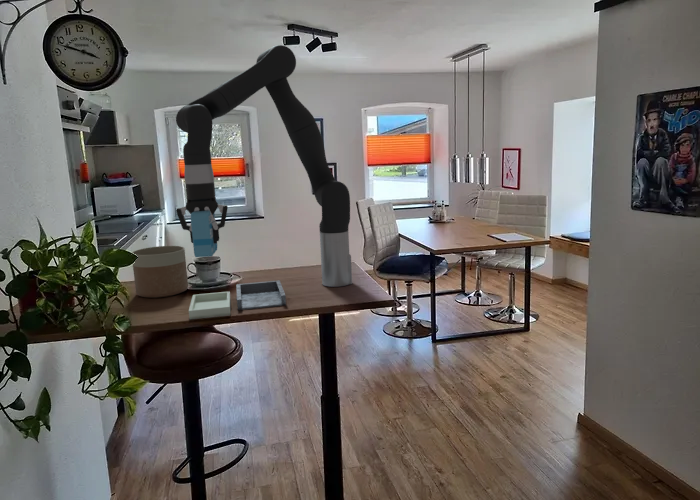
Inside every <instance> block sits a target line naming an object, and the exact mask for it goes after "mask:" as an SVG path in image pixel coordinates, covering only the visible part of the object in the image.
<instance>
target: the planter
mask: <svg viewBox="0 0 700 500" xmlns="http://www.w3.org/2000/svg"><path fill="white" fill-rule="evenodd" d="M131 253H134V254H136V255H137V256H138V259H137V260H136V261H135V263H134V264H133V263H132V270H133V271H132V272H133V277H134V278H133V279H134V288H135V294H136V295H137V296H139V297H142V298H146V299H147V298H150V299H159V298H166V297H167V298H168V297H172V296H176V295H179V294H181V293H184V292H185V291H187V289H188V288H189V280H188V271H187V269H188V268H187V260H186V249H185V247H184V246H181V245H180V246H179V245H159V246H150V247H144V248H143V247H142V248H140V249H136V250H134V251H132V252H131Z"/></svg>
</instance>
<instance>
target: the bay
mask: <svg viewBox="0 0 700 500" xmlns="http://www.w3.org/2000/svg"><path fill="white" fill-rule="evenodd" d="M235 287H236V288H235V289H236V306H237V311H243V310H255V309H264V308H275V307H284V306H287V298H286V293H285V290H284V288H283V286H282V283H281V280H279V279H278V280H268V281H256V282H246V283H245V282H244V283H237V284H236V286H235Z"/></svg>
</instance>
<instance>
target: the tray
mask: <svg viewBox="0 0 700 500" xmlns="http://www.w3.org/2000/svg"><path fill="white" fill-rule="evenodd" d="M227 316H231V292H230V290H229V291H221V292H210V293H199V294H193V295H192V297H191V301H190V303H189V308H188V317H189V318H188V320H197V319H208V318H218V317H227Z"/></svg>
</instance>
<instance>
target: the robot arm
mask: <svg viewBox="0 0 700 500" xmlns="http://www.w3.org/2000/svg"><path fill="white" fill-rule="evenodd" d="M296 67H297V59H296V55H295V53H294V52H293V50H291V48H289V46H286V45H282V44H278V45H274V46H271V47H270V48H268V49H265V50H264V51H263V52H262V53H260V54H259V56H258V57H257V58H256V63H255V64H254V65H252V66H251V67H249V68H248V69H246V70H244V71H243V72H241V73H239V74H237V75H236V76H233V77H231V78H230V79H227V80H226V81H224V82H222V83H221V84H219V85H218V86H217V87H215V88H213V89H212V90H210V91H209V92H208V93H206V94H205V95H204V96H202V97H199V98H197V99H195V100H193V101H191V102H190V103H187V104H185V105H183V106H182V107H181V108H180V109H179V110H178V111H177V113H176V116H175V122H176V125H177V128H179V129H180V130H181V131H182V132H183V133H184V132H185V133H187V141H186V142H185V143H184V144H183V148H182V153H183V162H184V163H183V164H184V183H185V193H186V194H185V195H186V205H185V206H182V207H178V208H176V210H175V212H176V215H177V217H178V220H179V222H180V225H181V229H182V230H183V231H188V232H189V234H190V242H191V243H192V244H193V237H192V227H191V224H190V225H189V224H188V223H187V221H186V217H185V214H186V211H187V212H188V214H190V215H191V213H192V212H198V211H210V214H211V223H212V226H213V228H214V229H213V234H214V244H215V243H217V244H218V242H220V231H219V230H220V229H221V228H224V227H225V225H226V220H227V214H228V205H227V204H218V202H217V200H216V197H217V196H216V187H215V176H214V170H213V164H212V154H211V145H212V144H211V143H212V138H213V136H212V135H213V127H214V126H213V123H214V122H213V120H215V119H217V118H220V117H223V116H226V115H227V114H228V113H230V112H231V111H232V110H234V109H235V108H237V107H238V106H240V105H242V104H243V103H244V102H245V101H246V100H248V99H249V98H250V97H252V96H253V95H254V94H256V93H257V92H259V91H260V90H261V89H263V88H265V89H266V90H267V92H268V94H269V96H270V97H271V100H272V102H273V103H274V105H275V107H276V108H275V109H276V111H277V112H278V114H279V116H280V118H281V121H282V122H283V125H284V127H285V130H286V132H287V134H288V137H289V139H290V141H291V143H292V146H293V148H294V149H295V152H296V154H297V156H298V159H299V160H300V162H301V164H302V166H303V168H304V169H305V172H306V174H307V176H308V179H309V183H310V184H311V188H312V192H313V194H314V198H315V200H316V202H317V203H318V205H319V206H320V207H321V221H320V223H319V226H318V227H319V242H320V245H319V246H320V262H321V263H320V265H321V280H322V281H321V283H322V284H321V285H323V286H325V287H330V288H331V287H332V288H333V287H334V288H337V287H344V286H349V285H353V270H352V255H351V253H350V238H349V237H350V236H349V233H350V232H349V224H350V221H351V197H350V196H351V195H350V190H349V188H348V187H347V185H346V184H345V183H344V182H341V181H339V180H337V179H336V178H335V177H334V175H333V173H332V171H331V168H330V166H329V164H328V162H327V156H326V151H325V144H324V140H323V137H322V133H321V130H320V128H319V126H318V124H317V122H316V119H315V117H314V115H313V114H312V112H310V111H309V109H308V108H307V107H306V106H305V105H304V104H303V103H302V102H301V101H300V100H299V99H298V98H297V97H296V95H295V94H294V92H293V90H292V88H291V86H290V83H289V81H288V77H290V76H291V75H292V74H293V73H294V71H295V69H296ZM217 210H219V212H220V214H221V217H220V222H217V221H216V217H215V218H214V215H213V214H215V212H216V211H217Z"/></svg>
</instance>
